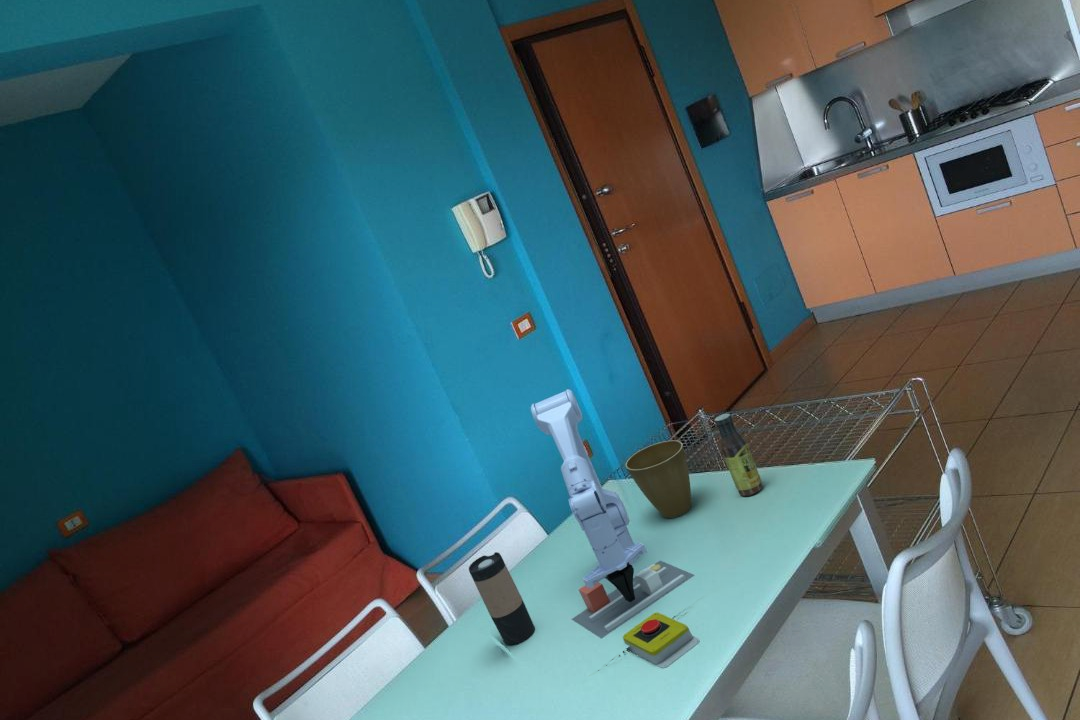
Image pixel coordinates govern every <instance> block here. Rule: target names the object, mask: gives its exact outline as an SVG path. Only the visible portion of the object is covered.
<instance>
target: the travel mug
mask: <svg viewBox="0 0 1080 720" xmlns="http://www.w3.org/2000/svg"><path fill="white" fill-rule="evenodd" d="M468 572H469V574H470V576H471V579H472V580H473V582H474V584H475V587H476V589H477V590H478V593H479V595H480V597H481V599H482V601H483V604H484V606H485V607H486V610H487V612H488V614H489V617H490V618H491V620H492V622H493V624H494V625H495V628H496V629H497V632H498V633H499V635H500V637H501V638H502V640H503V643H504V644H505V646H509V647H514V646H518V645H520V644H522V643H524V642H526V641H527V640H529V639H530V638H532V637H533V636H534V633H535V631H536V627H535V624H534V622H533V620H532V618H531V615H530V613H529V611H528V608H527V607H526V604H525V602H524V600H523V598H522V597H523V596H522V595H521V593H520V592H519V589H518V587H517V586H516V583H515V581H514V579H513V577H512V575H511V573H510V571H509V569H508V567H507V565H506V563H505V561H504V559H503V556H502V555H501V553H500V552H494V553H493V554H491V555H481V556H480V557H478V558H477V559H475V560H473V561H472V563H471V564H470V565H469V566H468Z"/></svg>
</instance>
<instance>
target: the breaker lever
mask: <svg viewBox="0 0 1080 720" xmlns="http://www.w3.org/2000/svg"><path fill="white" fill-rule="evenodd" d="M635 577H637V580H638V582H639V584H640V586H641V589H642V591H643V592H645V593H647V594H649V595H652V594H653V593H654V592H656V591H657V590H659V589H660V588H662V587H663V584H662V582H661V579H660V577H659V575H658V573H657V572H656V571H653V570H651V569H649V568H648V567H645V568H644V569H642V570H641V571H639V572H638V573H636V574H635Z"/></svg>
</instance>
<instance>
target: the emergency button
mask: <svg viewBox="0 0 1080 720" xmlns="http://www.w3.org/2000/svg"><path fill="white" fill-rule="evenodd" d="M622 640H623V642H624V644H625V645H628V647H627V648H625V650H626V649H627V651H628V652H630V651H631V653H632V654H634V655H636V656H637V655H638V657H640V658H641V659H643V660H645V661H647V662H649V663H651V664H652V665H654V666H657V667H659V669H666V668H668V667H670V666H671V665H672V664H674V663H675V662H676V661H677V660H679V659H680V658H681V657H682V656H683V657H684V655H685V654H687V653H688V652H689V651H691V650H692V649H693V648H695V647H696V646H697V645H699V643H700V639H699V638H698V637H696V636H693V634H692V633H691V630H690V629H689V627H688V626H687V624H684V623H682V622H680V621H678V620H676V619H673V618H672V617H670V616H666V615H664V614H662V613H660V612H653V613H652V614H650V616H648V617H646V618H645V619H644V620H642V621H641V622H639V623H638V624H637V625H636V626H634V627H633V628H631V629H630V630H628V631H627V632H626V633H625V634H623V635H622Z"/></svg>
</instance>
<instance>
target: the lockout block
mask: <svg viewBox="0 0 1080 720" xmlns="http://www.w3.org/2000/svg"><path fill="white" fill-rule="evenodd" d="M578 591H579V593H580V596H581V598H582V600H583V602H584V604H585V606H586V607H585V608H586V609H588V610H589V611H591V612H593V613H595V612H597V611H598V610H600V609H601V608H603V607H605V606H606V605H608V604H609V603H611V602H610V600H609V598H608V596H607V595H608V594H607V591H606V589H605V587H604V585H603V583H601V582H600V581H599V582H598V583H596V584H595V585H594V587H593V588H591V589H590V588H588V587H586V585H585V584H584V585H583V586H582V587H580V588H579V589H578Z"/></svg>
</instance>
